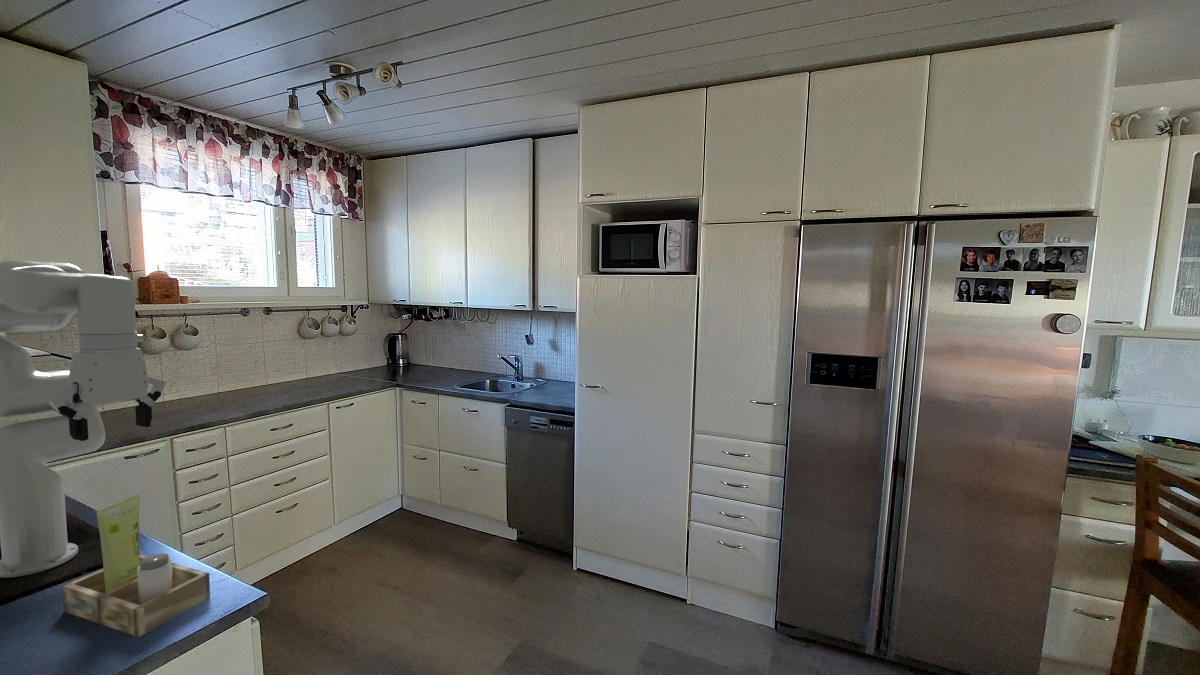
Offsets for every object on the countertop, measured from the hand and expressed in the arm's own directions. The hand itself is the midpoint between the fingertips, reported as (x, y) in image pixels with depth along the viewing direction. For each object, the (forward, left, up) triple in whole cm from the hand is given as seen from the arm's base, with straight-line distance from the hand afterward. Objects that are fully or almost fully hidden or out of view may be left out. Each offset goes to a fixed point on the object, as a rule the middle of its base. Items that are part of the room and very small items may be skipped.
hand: (113, 432), depth 93 cm
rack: (+5, 0, -34) cm, 34 cm away
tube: (0, 0, -33) cm, 33 cm away
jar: (+10, 0, -33) cm, 34 cm away
